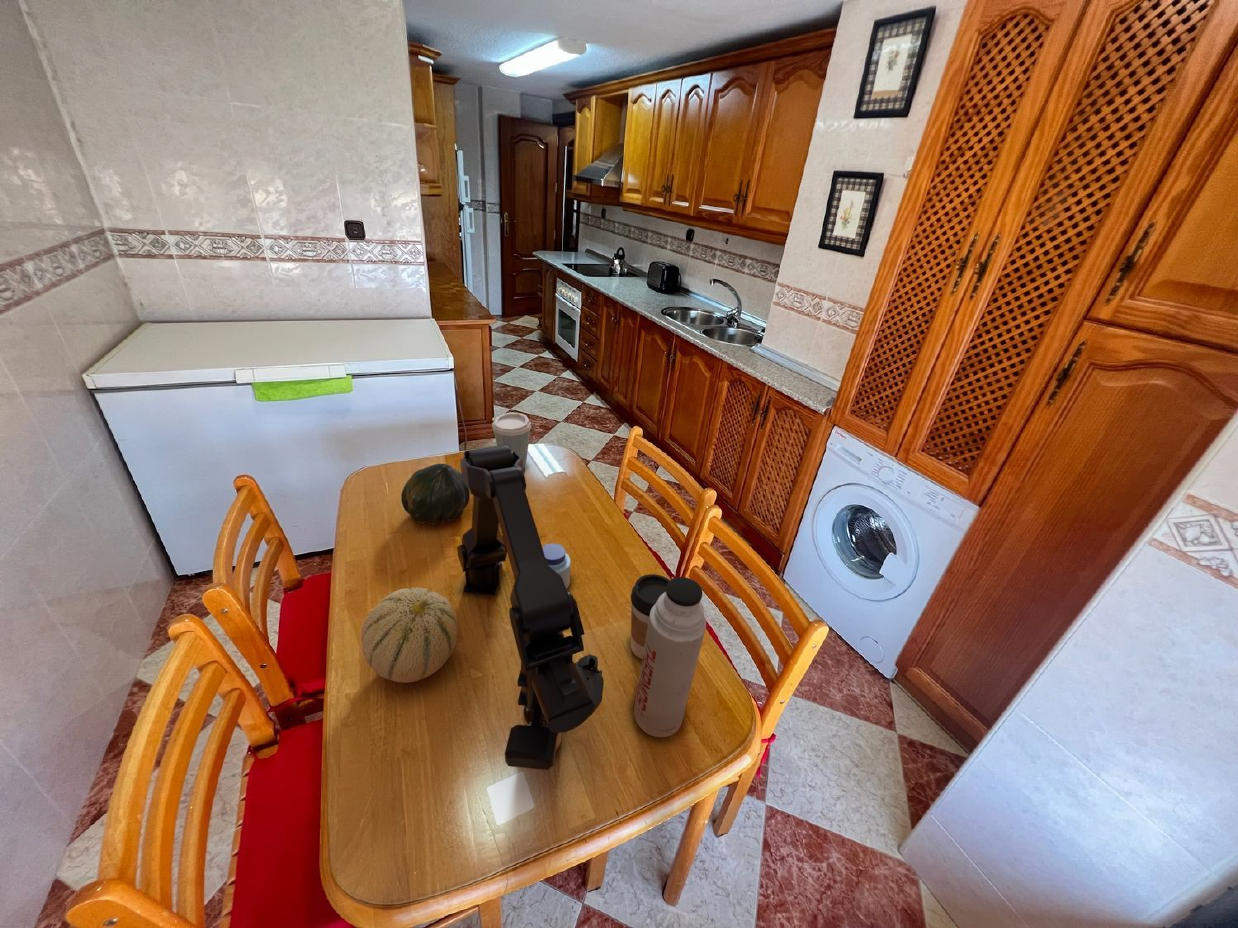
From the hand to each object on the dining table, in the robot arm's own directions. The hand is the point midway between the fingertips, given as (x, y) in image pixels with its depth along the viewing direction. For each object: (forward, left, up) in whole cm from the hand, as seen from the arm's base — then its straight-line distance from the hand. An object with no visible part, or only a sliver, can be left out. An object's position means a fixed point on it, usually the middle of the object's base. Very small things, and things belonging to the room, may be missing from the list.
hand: (541, 730), depth 75 cm
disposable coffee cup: (-23, +77, -2) cm, 80 cm away
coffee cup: (+16, +19, -2) cm, 25 cm away
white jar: (-4, +33, -2) cm, 33 cm away
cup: (0, 0, -2) cm, 2 cm away
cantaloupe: (-24, +11, -2) cm, 26 cm away
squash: (-35, +52, -2) cm, 63 cm away
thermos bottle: (+18, +6, -2) cm, 19 cm away
